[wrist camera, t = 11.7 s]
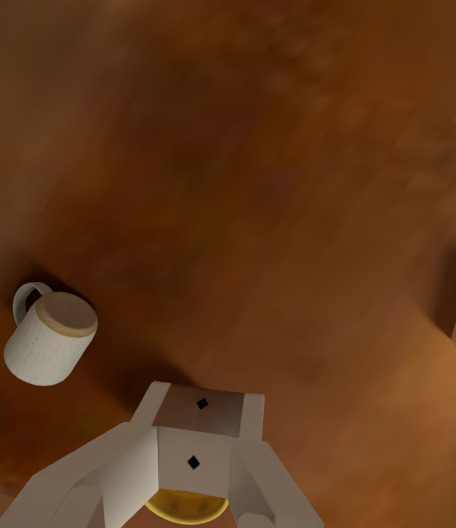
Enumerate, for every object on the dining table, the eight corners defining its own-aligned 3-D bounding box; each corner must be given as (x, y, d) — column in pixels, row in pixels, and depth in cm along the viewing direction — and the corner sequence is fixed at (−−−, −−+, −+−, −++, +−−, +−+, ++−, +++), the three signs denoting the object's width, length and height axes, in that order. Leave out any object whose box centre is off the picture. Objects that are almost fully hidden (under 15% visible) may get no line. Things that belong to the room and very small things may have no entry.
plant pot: (169, 375, 45) (140, 435, 36) (250, 399, 44) (242, 466, 35) (155, 438, 49) (125, 508, 39) (230, 462, 48) (217, 537, 39)
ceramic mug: (113, 314, 43) (78, 347, 36) (83, 360, 46) (45, 400, 39) (38, 262, 43) (-12, 285, 36) (12, 311, 46) (-40, 342, 38)
